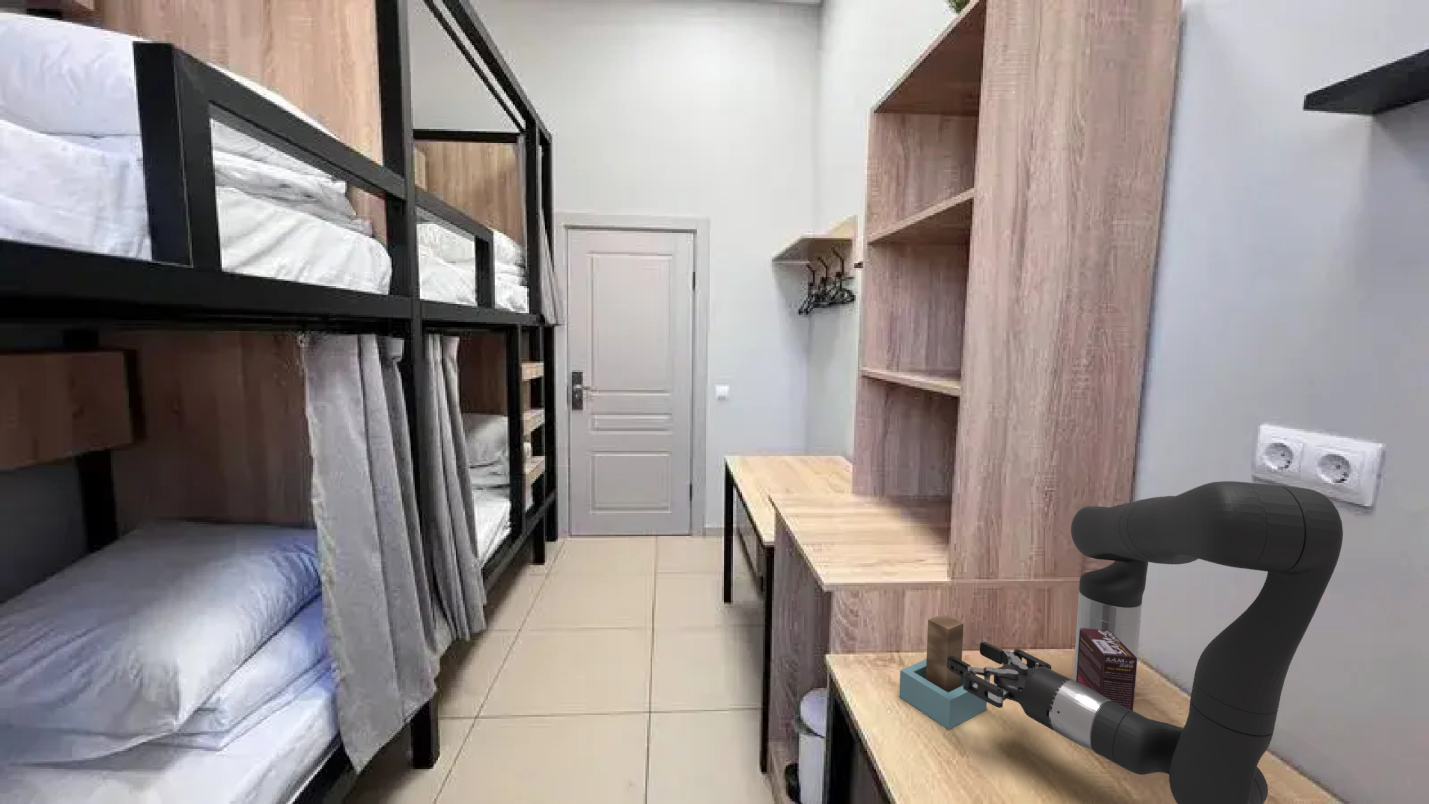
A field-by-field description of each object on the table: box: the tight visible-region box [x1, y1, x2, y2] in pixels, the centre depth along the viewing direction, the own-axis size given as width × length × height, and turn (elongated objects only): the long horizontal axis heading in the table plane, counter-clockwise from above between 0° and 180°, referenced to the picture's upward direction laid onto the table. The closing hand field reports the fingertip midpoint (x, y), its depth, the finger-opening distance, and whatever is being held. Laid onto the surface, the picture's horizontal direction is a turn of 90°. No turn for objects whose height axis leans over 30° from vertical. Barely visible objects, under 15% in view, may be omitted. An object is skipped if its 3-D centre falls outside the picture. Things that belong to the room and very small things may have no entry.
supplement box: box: [1076, 628, 1138, 711], centre depth 88 cm, size 9×5×16 cm, turn 168°
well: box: [898, 658, 988, 731], centre depth 97 cm, size 10×10×5 cm
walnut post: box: [926, 613, 964, 693], centre depth 96 cm, size 4×4×14 cm
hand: (965, 654), depth 93 cm, fingers open, 8 cm apart
